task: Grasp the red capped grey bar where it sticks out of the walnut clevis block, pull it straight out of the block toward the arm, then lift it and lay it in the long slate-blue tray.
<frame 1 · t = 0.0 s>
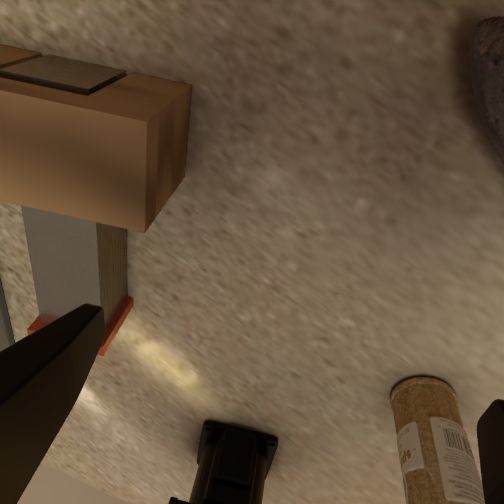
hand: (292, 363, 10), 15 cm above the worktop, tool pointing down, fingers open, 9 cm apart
red capped grey bar: (95, 194, 26), on the worktop
clevis block: (89, 112, 23), on the worktop
spice jar: (421, 393, 31), on the worktop
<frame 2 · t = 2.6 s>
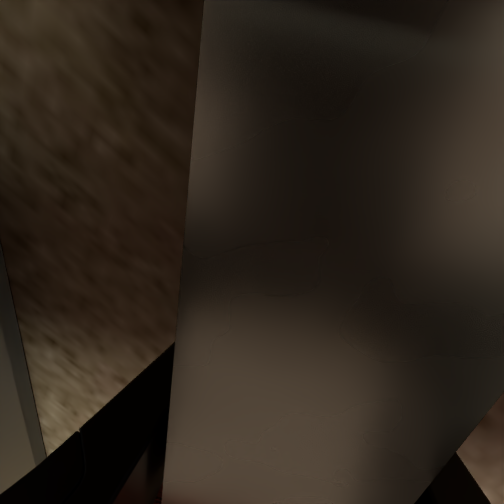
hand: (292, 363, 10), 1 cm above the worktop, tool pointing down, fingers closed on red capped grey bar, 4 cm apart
red capped grey bar: (356, 137, 8), on the worktop, touching gripper
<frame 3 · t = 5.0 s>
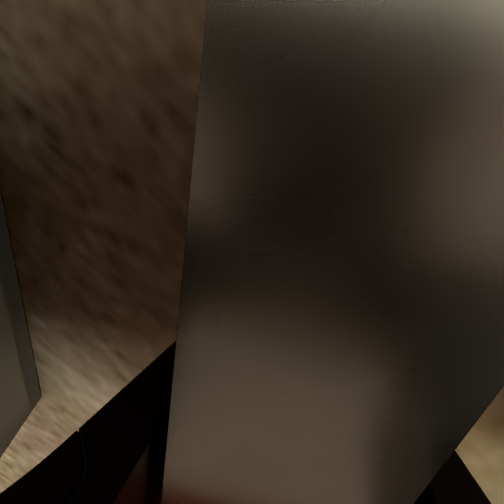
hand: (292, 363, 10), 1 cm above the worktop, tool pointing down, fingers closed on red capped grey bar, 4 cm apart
red capped grey bar: (364, 107, 7), on the worktop, touching gripper
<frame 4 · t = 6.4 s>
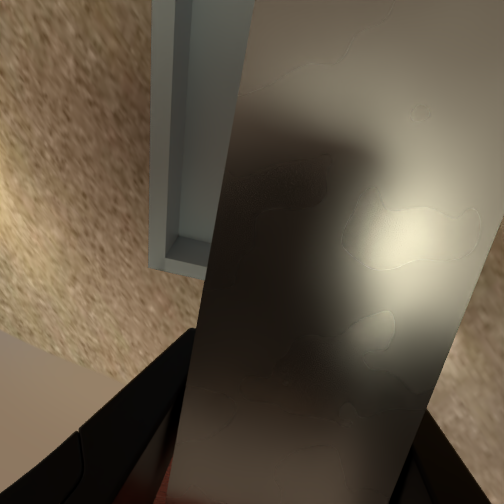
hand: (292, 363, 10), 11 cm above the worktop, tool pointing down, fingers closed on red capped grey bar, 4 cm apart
red capped grey bar: (339, 153, 10), point 8 cm above the worktop, tilted 16°, touching gripper
tray: (298, 54, 17), on the worktop
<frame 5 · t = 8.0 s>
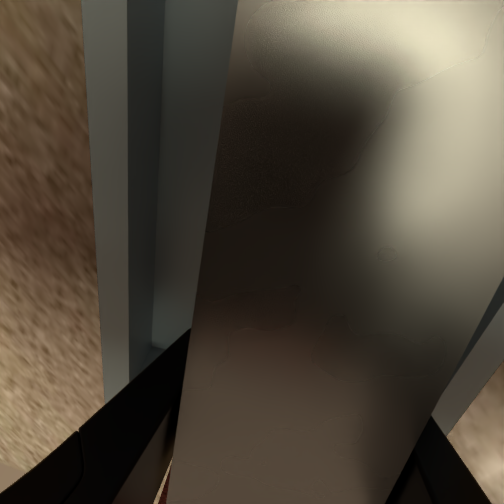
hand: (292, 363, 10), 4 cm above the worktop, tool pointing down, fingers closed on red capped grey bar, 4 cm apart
red capped grey bar: (326, 209, 10), point 2 cm above the worktop, tilted 8°, touching gripper, tray
tray: (347, 97, 10), on the worktop
when the fingers open (4 cm above the worktop, at t = 8.3 s): red capped grey bar stays where it is, resting on tray.
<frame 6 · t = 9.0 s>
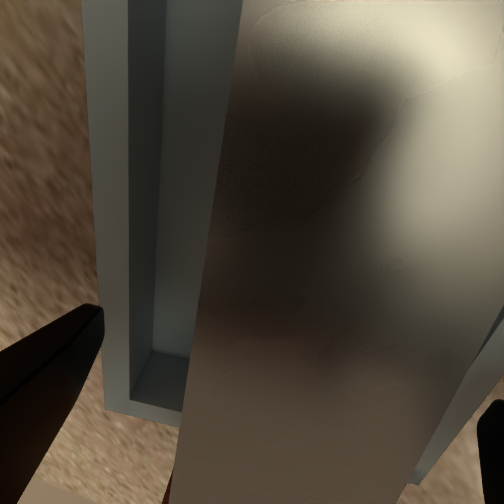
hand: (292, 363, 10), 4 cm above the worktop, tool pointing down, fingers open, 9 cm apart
red capped grey bar: (329, 215, 10), point 2 cm above the worktop, tilted 8°, touching tray
tray: (350, 101, 10), on the worktop
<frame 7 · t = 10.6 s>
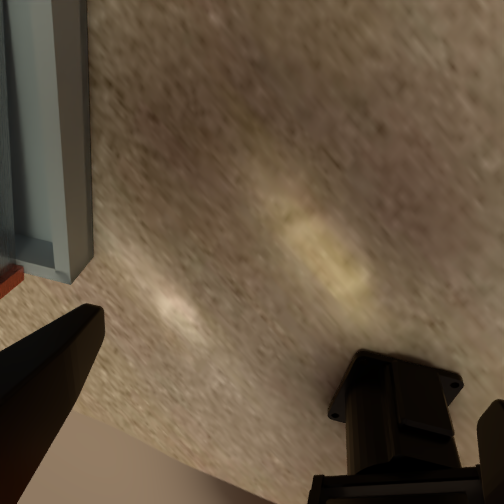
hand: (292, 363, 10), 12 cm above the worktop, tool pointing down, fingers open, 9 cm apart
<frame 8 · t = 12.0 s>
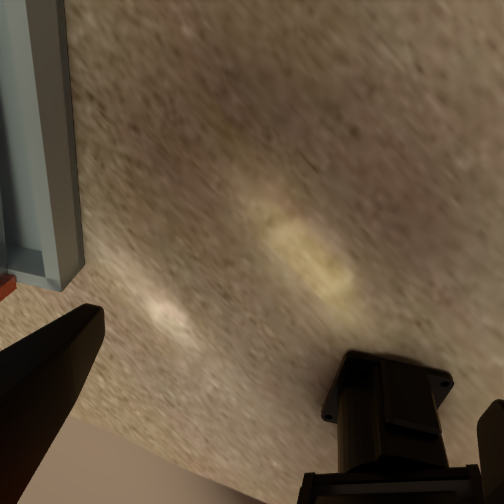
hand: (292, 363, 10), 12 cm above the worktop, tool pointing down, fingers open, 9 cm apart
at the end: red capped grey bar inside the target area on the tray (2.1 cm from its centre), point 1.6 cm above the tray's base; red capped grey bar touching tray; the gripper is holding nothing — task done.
